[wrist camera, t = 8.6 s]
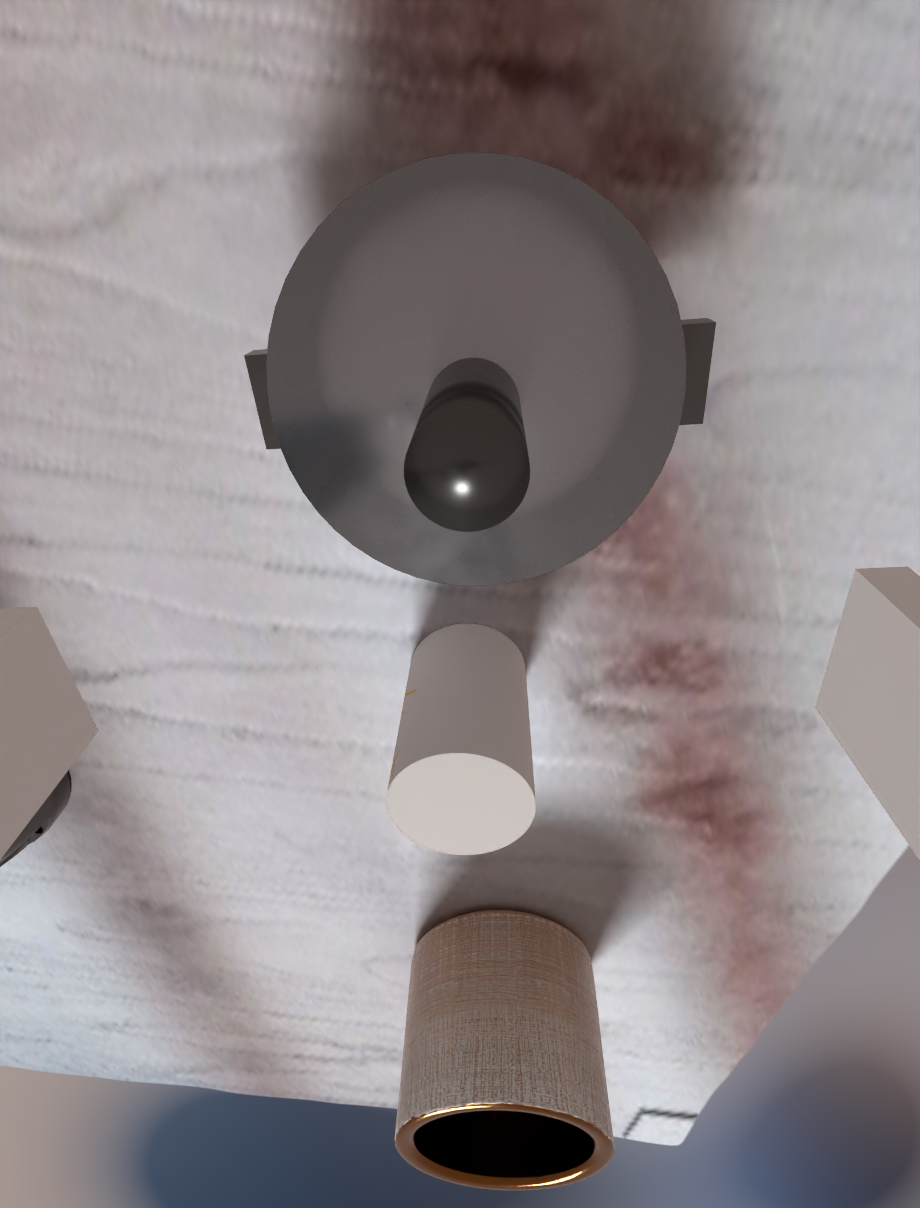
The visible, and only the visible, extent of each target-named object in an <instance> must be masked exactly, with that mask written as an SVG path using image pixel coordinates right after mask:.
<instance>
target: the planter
mask: <svg viewBox="0 0 920 1208" xmlns="http://www.w3.org/2000/svg"><path fill="white" fill-rule="evenodd" d="M395 1145H396V1149H397V1150H398V1152H399V1154H400V1155H401V1156H402V1157H403V1159H404V1160H405V1161H407V1162H408V1163H409V1164H410V1165H412V1166H413V1167H415V1168H417V1169H418V1170H420V1171H422V1172H424V1173H426V1174H428V1175H431V1176H433V1177H436V1178H439V1179H442V1180H445V1181H448V1182H452V1183H456V1184H460V1185H465V1186H471V1187H477V1188H484V1189H495V1190H536V1189H546V1188H552V1187H559V1186H563V1185H568V1184H571V1183H575V1182H578V1181H581V1180H584V1179H586V1178H589V1177H591V1176H593V1175H595V1174H596V1173H598V1172H600V1171H601V1170H603V1169H604V1168H605V1167H606V1166H607V1165H608V1164H609V1163H610V1161H611V1160H612V1158H613V1155H614V1141H613V1132H612V1124H611V1116H610V1109H609V1101H608V1093H607V1085H606V1077H605V1068H604V1060H603V1052H602V1043H601V1035H600V1026H599V1017H598V1009H597V1000H596V992H595V983H594V976H593V969H592V964H591V959H590V956H589V953H588V951H587V949H586V947H585V945H584V944H583V943H582V941H581V940H580V939H579V938H578V937H577V936H576V935H574V934H573V933H572V932H571V931H569V930H568V929H566V928H565V927H563V926H561V925H560V924H558V923H556V922H554V921H552V920H549V919H546V918H544V917H541V916H538V915H535V914H531V913H526V912H520V911H512V910H484V911H476V912H471V913H467V914H463V915H459V916H456V917H453V918H451V919H449V920H446V921H444V922H443V923H441V924H439V925H437V926H435V927H434V928H432V929H431V930H430V931H428V932H427V933H426V934H425V935H424V936H423V937H422V938H421V940H420V941H419V942H418V944H417V946H416V948H415V951H414V955H413V959H412V965H411V974H410V984H409V995H408V1006H407V1017H406V1028H405V1039H404V1050H403V1061H402V1071H401V1082H400V1092H399V1102H398V1112H397V1121H396V1132H395Z"/></svg>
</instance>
